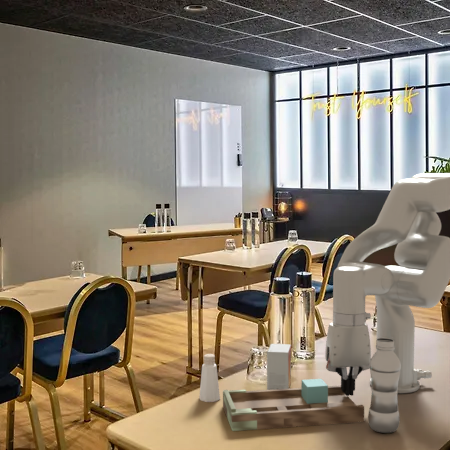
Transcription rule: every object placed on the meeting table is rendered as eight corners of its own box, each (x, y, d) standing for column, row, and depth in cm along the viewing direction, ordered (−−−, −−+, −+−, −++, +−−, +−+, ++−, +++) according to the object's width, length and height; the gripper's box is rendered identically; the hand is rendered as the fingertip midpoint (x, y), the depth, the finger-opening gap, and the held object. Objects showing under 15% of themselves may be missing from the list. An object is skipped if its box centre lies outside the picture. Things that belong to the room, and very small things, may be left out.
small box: (288, 393, 154) (288, 352, 154) (266, 391, 156) (266, 351, 155) (291, 382, 162) (291, 344, 161) (270, 381, 163) (270, 343, 163)
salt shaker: (204, 403, 148) (204, 359, 147) (195, 396, 152) (194, 353, 151) (224, 399, 150) (224, 356, 149) (214, 393, 155) (214, 350, 154)
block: (321, 394, 148) (321, 378, 147) (327, 402, 143) (327, 385, 142) (301, 395, 147) (301, 379, 147) (307, 403, 142) (307, 387, 142)
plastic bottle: (363, 425, 135) (364, 336, 133) (393, 423, 135) (394, 335, 133) (373, 437, 128) (374, 344, 126) (404, 436, 129) (406, 343, 127)
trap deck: (343, 399, 150) (343, 381, 150) (364, 421, 136) (364, 402, 136) (223, 406, 146) (222, 388, 145) (232, 431, 132) (232, 410, 132)
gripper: (372, 314, 149) (371, 386, 151) (313, 316, 147) (313, 390, 148) (385, 321, 142) (383, 397, 143) (323, 323, 140) (322, 401, 141)
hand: (347, 393), depth 146 cm, fingers closed
